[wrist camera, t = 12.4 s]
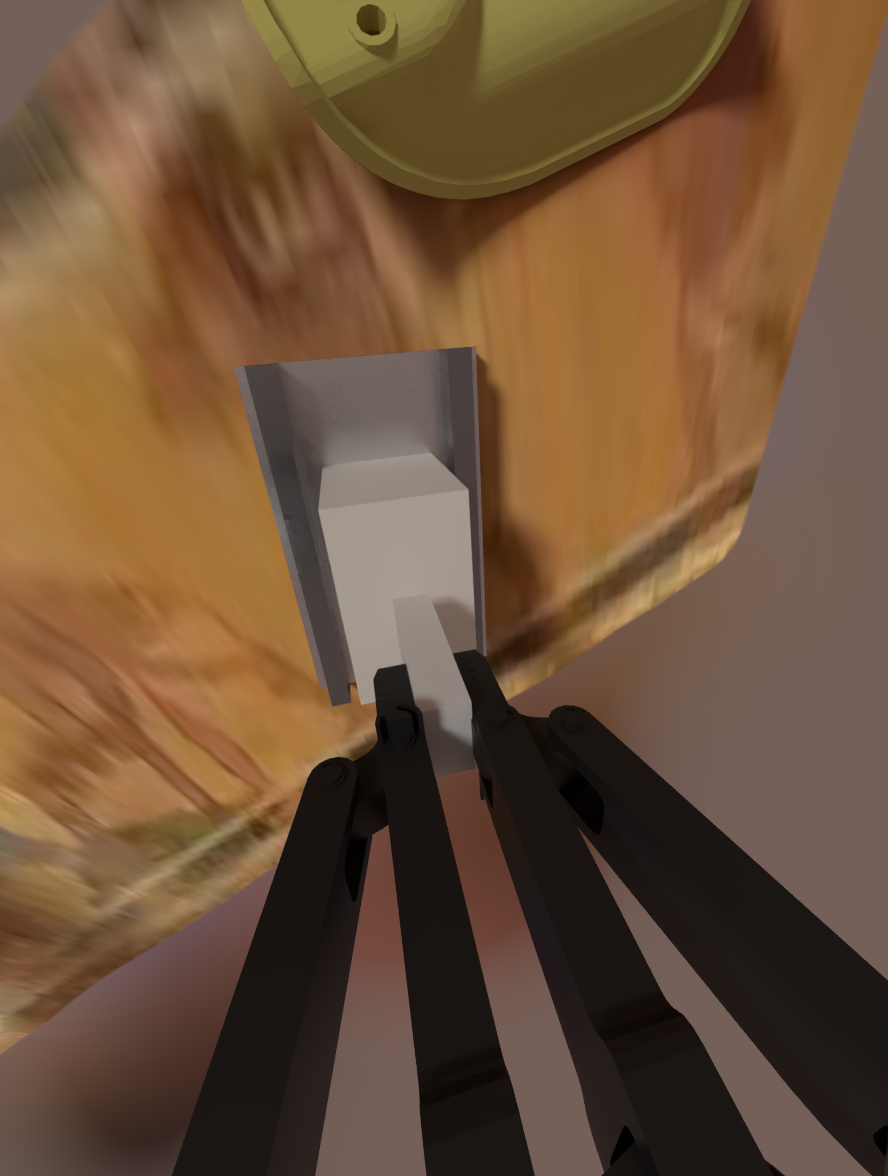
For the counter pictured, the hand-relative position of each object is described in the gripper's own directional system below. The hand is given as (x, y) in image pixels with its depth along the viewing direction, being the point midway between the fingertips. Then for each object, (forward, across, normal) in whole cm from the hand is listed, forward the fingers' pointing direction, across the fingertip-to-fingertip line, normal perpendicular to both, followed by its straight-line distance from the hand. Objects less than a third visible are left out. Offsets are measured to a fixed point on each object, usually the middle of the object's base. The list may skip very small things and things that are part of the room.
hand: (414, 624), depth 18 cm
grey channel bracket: (+11, 0, 0) cm, 11 cm away
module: (+10, 0, 0) cm, 10 cm away
